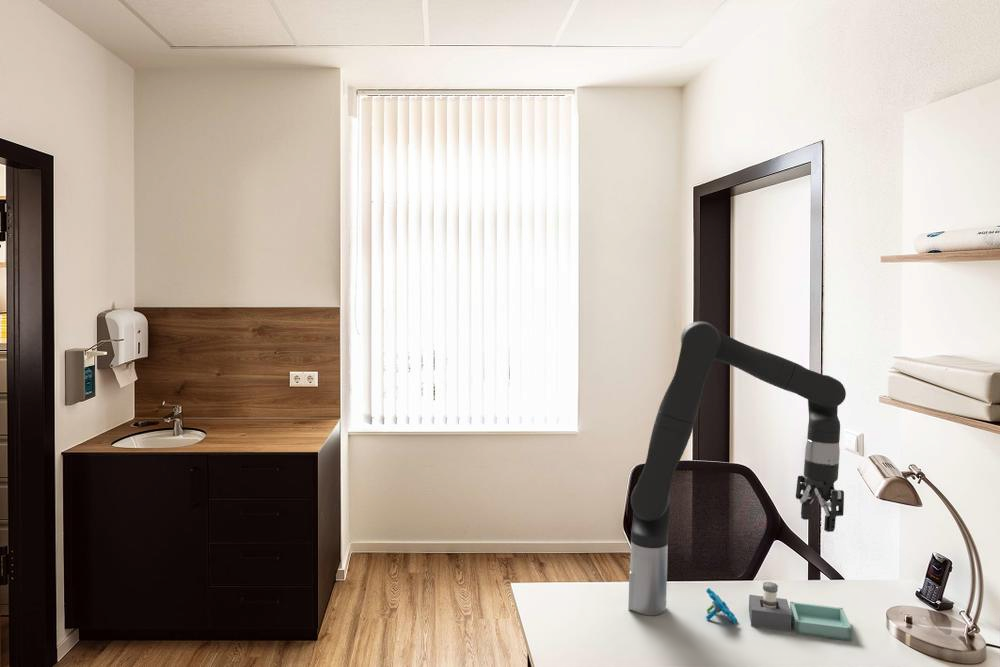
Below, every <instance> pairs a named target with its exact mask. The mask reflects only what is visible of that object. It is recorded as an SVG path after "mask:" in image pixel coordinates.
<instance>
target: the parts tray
mask: <svg viewBox="0 0 1000 667" xmlns="http://www.w3.org/2000/svg"><path fill="white" fill-rule="evenodd" d="M789 608H790V612H791V625H792V626H793V630H794V634H795V635H801V636H803V635H804V636H810V637H817V638H825V639H832V640H842V641H848V642H852V636H853V634H852V631H853V628H852V626H851V623H850V622H849V619H848V617H847V615H846V613H845V611H844V608H843V607H838V606H837V607H836V606H828V605H822V604H821V605H819V604H811V603H805V602H795V601H789Z"/></svg>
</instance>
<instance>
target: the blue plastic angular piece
mask: <svg viewBox="0 0 1000 667" xmlns="http://www.w3.org/2000/svg"><path fill="white" fill-rule="evenodd" d="M705 592H706V593H707V594H708V596H709V598H710V599H711V600H712V602H711V605H710V606H709V607H708V608H707V609H706V612H707V613H709V614H707V615H706V616H705V618H706V620H707V621H710V620H711V619H712V618H713V617H715V615H716V614H717V613H718V614H720V613H721V612H722V613H723V614H724V615H726V616H727V619H729V620H730V621H731V622H733V624H734V625H735V624H737V623H738V622H739V621H738V619H737V617H736V615H735V614H734V613H733V612H732V611H731V610H730V608H729V607H728V605H727V603H726V602H725V601H723V600H722V599H721V597H720V596H719V595H718V594H716V593H715V592H714V591H713V590H712V589H711V588H710V587H708V588H707V589H706V590H705Z"/></svg>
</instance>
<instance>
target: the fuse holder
mask: <svg viewBox="0 0 1000 667" xmlns="http://www.w3.org/2000/svg"><path fill="white" fill-rule="evenodd" d="M748 614H749V620H750V626H751V627H759V628H765V629H766V628H767V629H774V630H779V631H780V630H781V631H787V632H791V630H792V620H791V612H790V604H789V601H788V599H787V598H780V597H776V609H773V608H765V607H763V595H756V594H755V595H754V594H749V596H748Z"/></svg>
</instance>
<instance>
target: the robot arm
mask: <svg viewBox="0 0 1000 667" xmlns="http://www.w3.org/2000/svg"><path fill="white" fill-rule="evenodd" d="M680 343H681V344H680V351H679V355H678V361H677V365H676V368H675V371H674V375H673V377H672V380H671V382H670V383H669V386H668V387H667V389H666V391H665V392H664V395H663V397H662V399H661V401H660V404H659V407H658V410H657V415H656V417H655V420H654V423H653V428H652V431H651V436H650V439H649V440H650V441H649V445H648V450H647V455H646V459H645V463H644V466H643V469H642V472H641V474H640V476H639V479H638V481H637V483H636V485H635V486H634V488H633V489H632V492H631V495H630V504H631V505H630V506H631V509H632V511H633V512H632V525H631V530H630V531H631V533H630V565H629V566H630V568H629V573H628V575H629V576H628V577H629V578H628V579H629V580H628V608H627V609H628V611H629V610H630V611H633V612H635V613H637V614H641V615H646V616H658V615H661V614H664V613H665V612H666V610H667V588H668V583H667V582H668V550H669V549H668V548H669V547H668V546H669V545H668V544H669V533H670V532H669V530H670V516H671V515H670V510H671V494H670V490H671V487H672V481H673V478H674V475H675V472H676V469H677V467H678V465H679V463H680V461H681V459H682V457H683V455H684V453H685V450H686V447H687V446H688V443H689V441H690V438H691V435H692V432H693V429H694V426H695V422H696V420H697V417H698V412H699V408H700V404H701V399H702V395H703V390H704V386H705V383H706V380H707V377H708V375H709V373H710V370H711V367H712V365H713V363H714V361H719V362H721V363H723V364H724V363H725V364H727V365H730V366H732V367H734V368H737V369H739V370H741V371H743V372H745V373H746V374H748V375H750V376H752V377H754V378H756V379H758V380H760V381H762V382H765V383H767V384H769V385H771V386H774V387H776V388H779V389H781V390H784V391H787V392H790V393H793V394H796V395H798V396H800V397H802V398H804V399H806V400H807V409H808V423H807V424H808V425H807V436H806V438H807V439H806V444H805V450H804V452H805V453H804V466H803V475H798V476H797V480H796V491H795V498H796V499H797V500H799V502H800V504H801V508H800V509H801V512H800V518H801V519H802V520H805V521H806V520H811V517H812V506H813V505H812V503H813V502H814V500H815V501H816V502H818V503H819V505H820V506H821V508H823V511H824V514H825V515H824V526H823V529H824V531H825V532H827V533H831V532H834V531H835V530H836V520H837V518H836V517H843V516H844V509H845V507H844V506H845V505H844V504H845V503H844V502H845V491H844V490H842V489H841V490H840V489H838V490H837V489H835V485H834V484H835V483H836V481H838V479H839V469H840V468H839V467H840V455H841V453H840V451H841V448H840V440H841V439H840V437H841V423H840V419H839V417H838V408H839V407H838V406H840V405H841V404H843V403H844V402H845V400H846V396H847V391H846V388H845V386H844V385H843V383H842V382H841V381H839V380H838V379H837V378H834V377H833V376H830V375H827V374H822V373H819V372H816V371H814V370H811V369H809V368H806V367H804V366H803V365H801V364H799V363H797V362H794V361H792V360H789V359H787V358H784V357H782V356H779V355H777V354H773V353H771V352H768V351H766V350H762V349H759V348H757V347H754V346H751V345H749V344H746V343H744V342H741V341H739V340H737V339H735V338H733V337H731V336H729V335H728V334H725V333H724V332H722V331H721V330H719V329H717V328H716V327H715V326H714V325H713V324H711V323H709V322H708V321H703V320H702V321H701V320H698V321H693V322H691V323H689V324H687V325H686V326H685V327H684V329H683V330H682V333H681V336H680ZM837 507H838V509H837Z"/></svg>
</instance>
